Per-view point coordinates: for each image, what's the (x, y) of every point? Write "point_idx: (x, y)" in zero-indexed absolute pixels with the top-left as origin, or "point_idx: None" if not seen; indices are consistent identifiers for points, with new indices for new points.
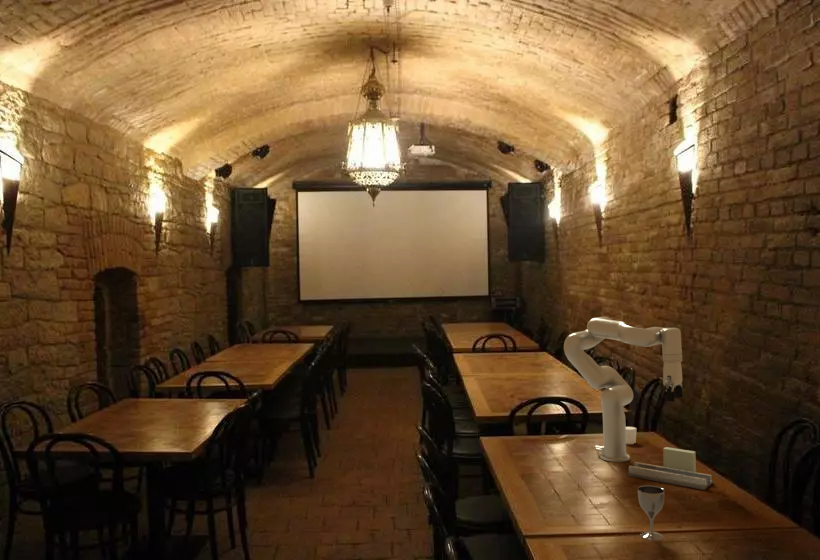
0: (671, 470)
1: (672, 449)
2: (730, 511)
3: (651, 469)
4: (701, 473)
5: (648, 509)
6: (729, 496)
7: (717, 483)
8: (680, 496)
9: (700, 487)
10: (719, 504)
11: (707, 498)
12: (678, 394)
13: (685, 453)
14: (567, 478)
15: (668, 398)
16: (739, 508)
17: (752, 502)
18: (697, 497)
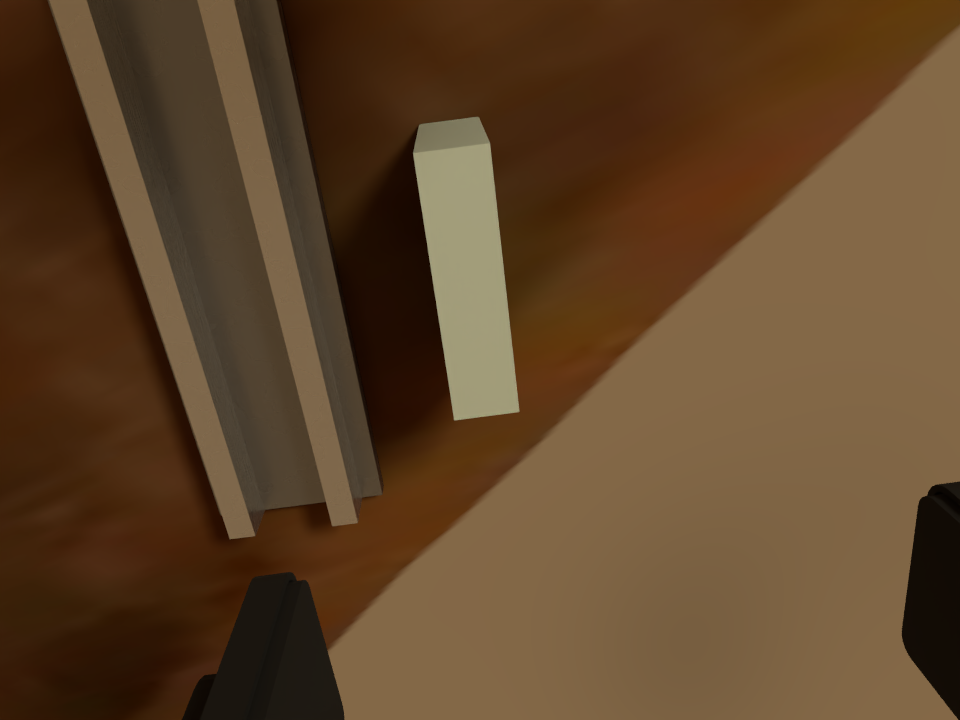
0: (272, 282)
1: (446, 238)
2: (40, 692)
3: (133, 169)
4: (338, 471)
5: None
6: (236, 619)
7: (397, 504)
8: (7, 462)
9: (214, 493)
10: (82, 632)
11: (111, 566)
12: (956, 629)
13: (444, 356)
14: None
15: (206, 700)
16: (114, 701)
17: None
18: (79, 528)
